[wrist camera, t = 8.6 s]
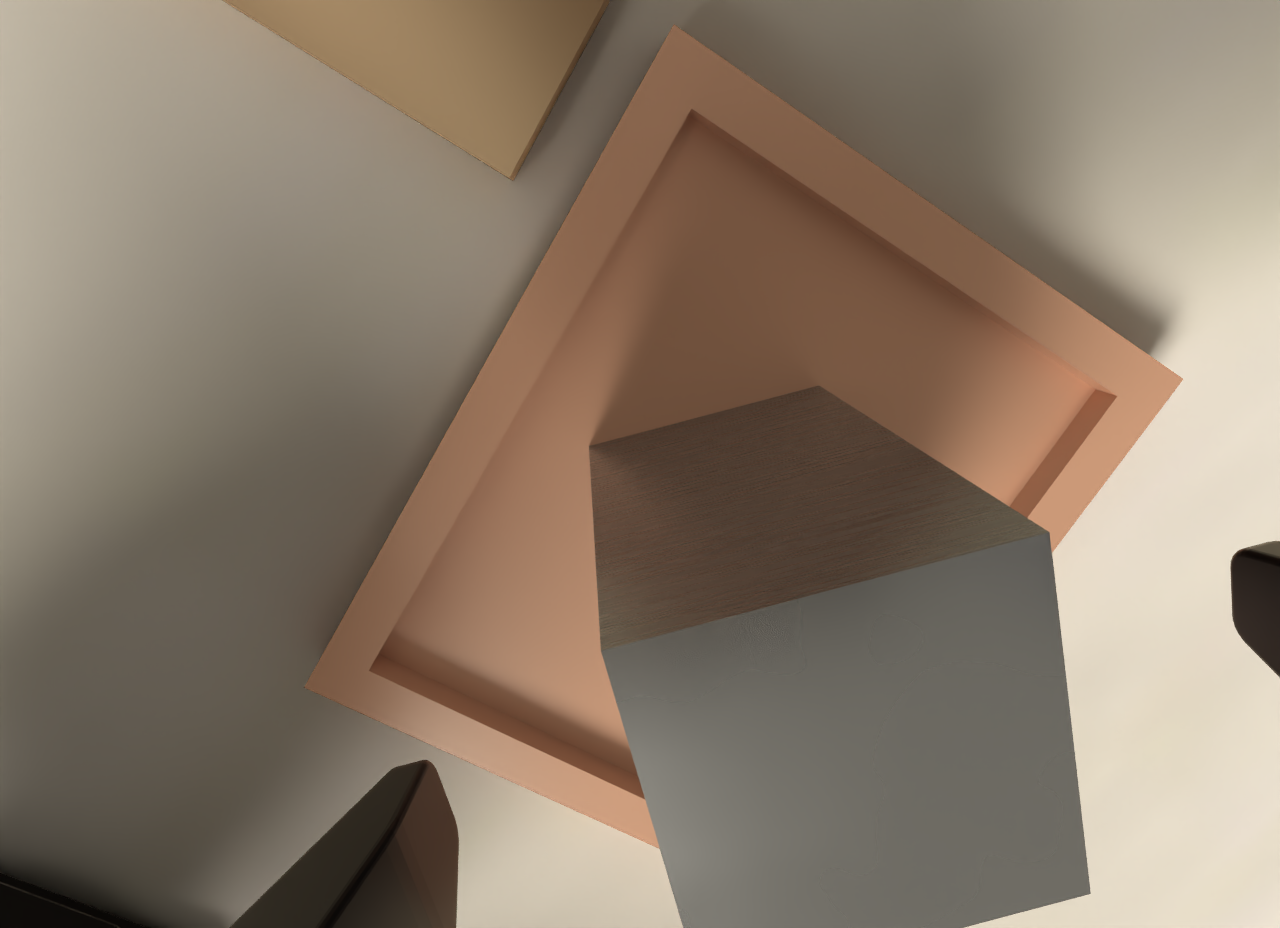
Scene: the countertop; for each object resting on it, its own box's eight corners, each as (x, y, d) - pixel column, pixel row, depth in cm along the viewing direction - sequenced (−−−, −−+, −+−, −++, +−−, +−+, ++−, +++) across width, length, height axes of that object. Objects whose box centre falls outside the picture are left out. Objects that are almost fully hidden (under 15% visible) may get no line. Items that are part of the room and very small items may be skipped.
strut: (859, 595, 15) (1091, 894, 8) (646, 651, 15) (704, 996, 8) (819, 385, 14) (1049, 532, 7) (588, 446, 14) (601, 649, 7)
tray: (773, 867, 17) (784, 905, 16) (321, 658, 15) (304, 686, 14) (1142, 369, 15) (1183, 378, 14) (666, 39, 13) (673, 24, 12)
